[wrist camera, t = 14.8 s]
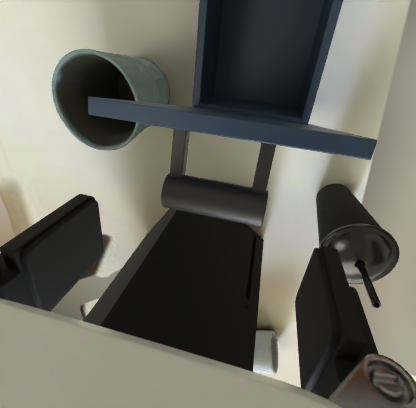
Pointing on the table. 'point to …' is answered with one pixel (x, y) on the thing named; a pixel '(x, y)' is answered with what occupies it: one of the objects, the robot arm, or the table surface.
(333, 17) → the box
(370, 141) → the lid
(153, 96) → the green tapered pot
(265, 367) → the ceramic mug
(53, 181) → the table surface
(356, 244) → the drinking cup
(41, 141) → the table surface
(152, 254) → the gaming console
